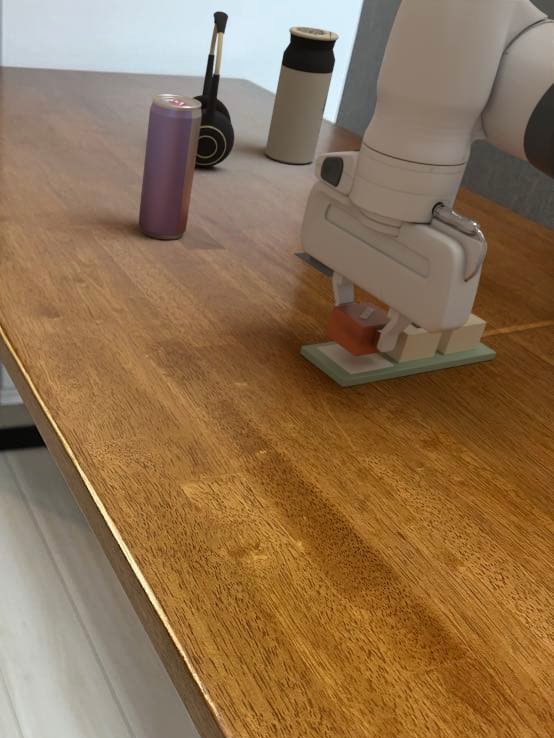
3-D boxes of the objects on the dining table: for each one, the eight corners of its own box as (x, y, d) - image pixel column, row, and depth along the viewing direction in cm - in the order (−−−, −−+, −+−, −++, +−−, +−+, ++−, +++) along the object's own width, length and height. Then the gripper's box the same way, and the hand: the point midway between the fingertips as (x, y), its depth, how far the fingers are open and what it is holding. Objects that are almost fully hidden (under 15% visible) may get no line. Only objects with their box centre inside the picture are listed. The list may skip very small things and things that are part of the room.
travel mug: (260, 158, 137) (283, 30, 126) (269, 147, 143) (292, 23, 132) (309, 168, 136) (337, 39, 124) (316, 156, 142) (343, 32, 130)
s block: (362, 329, 85) (370, 300, 83) (392, 350, 82) (401, 320, 80) (325, 335, 83) (333, 305, 81) (355, 357, 80) (363, 326, 78)
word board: (447, 329, 93) (459, 295, 90) (494, 359, 88) (508, 324, 86) (299, 353, 84) (308, 316, 82) (342, 387, 80) (353, 349, 77)
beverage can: (156, 243, 103) (172, 108, 94) (128, 226, 107) (140, 94, 97) (194, 237, 106) (213, 106, 97) (166, 221, 110) (181, 92, 100)
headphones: (224, 151, 138) (247, 7, 126) (230, 179, 127) (256, 24, 114) (172, 144, 138) (189, 0, 125) (173, 172, 126) (192, 16, 114)
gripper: (520, 226, 68) (461, 381, 76) (359, 149, 81) (324, 288, 90) (463, 232, 65) (408, 391, 74) (306, 150, 78) (275, 294, 87)
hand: (361, 334), depth 82 cm, fingers closed on s block, 4 cm apart
